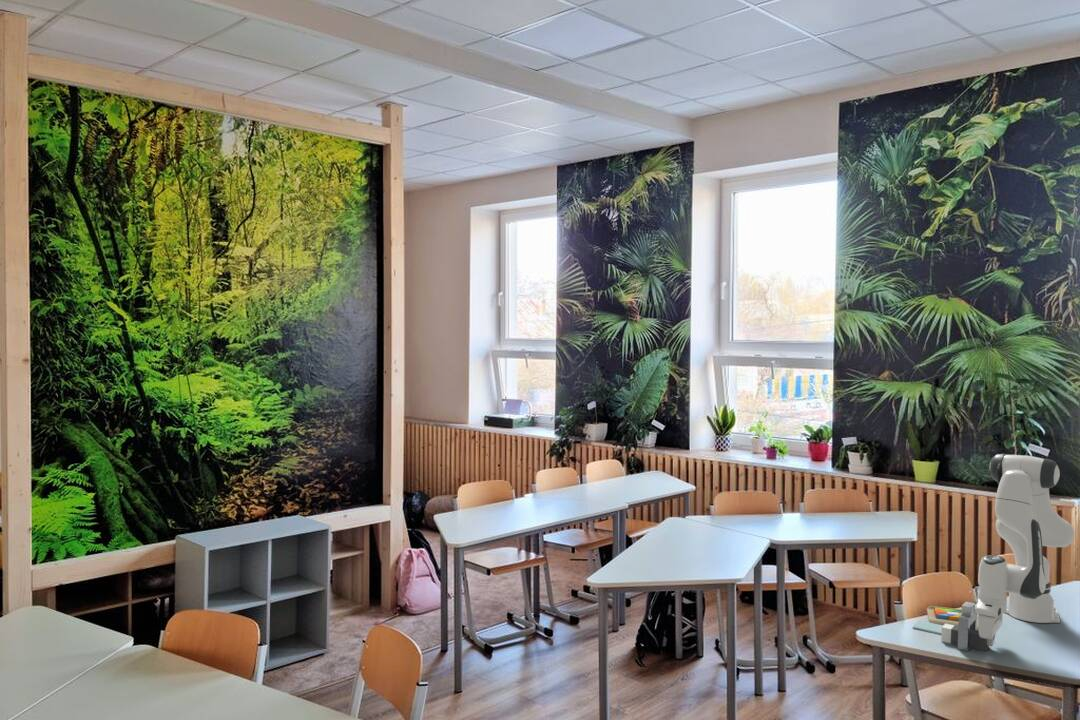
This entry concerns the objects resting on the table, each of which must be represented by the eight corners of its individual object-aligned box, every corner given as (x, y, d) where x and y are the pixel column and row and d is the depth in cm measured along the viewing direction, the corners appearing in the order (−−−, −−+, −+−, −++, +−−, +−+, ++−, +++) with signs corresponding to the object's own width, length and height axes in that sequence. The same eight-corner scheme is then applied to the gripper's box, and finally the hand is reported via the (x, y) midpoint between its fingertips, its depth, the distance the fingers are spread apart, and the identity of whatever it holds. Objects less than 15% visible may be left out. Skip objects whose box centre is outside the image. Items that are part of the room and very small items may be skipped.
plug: (944, 637, 299) (945, 623, 299) (988, 647, 290) (989, 632, 290) (941, 641, 295) (941, 627, 295) (985, 651, 286) (986, 636, 286)
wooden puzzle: (976, 616, 324) (977, 607, 324) (982, 632, 306) (982, 623, 306) (926, 610, 330) (926, 601, 330) (929, 625, 313) (929, 616, 313)
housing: (967, 638, 299) (968, 598, 298) (976, 640, 297) (977, 600, 296) (957, 649, 288) (958, 608, 287) (967, 651, 286) (968, 610, 286)
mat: (919, 622, 315) (919, 620, 315) (972, 633, 304) (972, 631, 304) (912, 628, 308) (912, 626, 308) (967, 640, 297) (967, 638, 296)
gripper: (987, 595, 297) (986, 634, 298) (975, 609, 281) (973, 650, 282) (1008, 599, 294) (1006, 638, 294) (996, 613, 277) (995, 655, 278)
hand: (990, 644), depth 288 cm, fingers closed, pressing on plug
